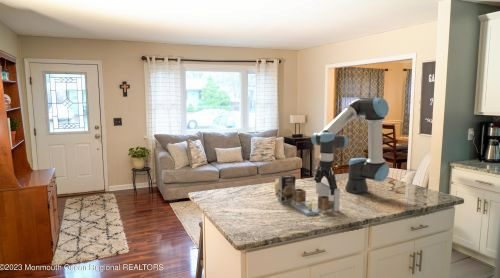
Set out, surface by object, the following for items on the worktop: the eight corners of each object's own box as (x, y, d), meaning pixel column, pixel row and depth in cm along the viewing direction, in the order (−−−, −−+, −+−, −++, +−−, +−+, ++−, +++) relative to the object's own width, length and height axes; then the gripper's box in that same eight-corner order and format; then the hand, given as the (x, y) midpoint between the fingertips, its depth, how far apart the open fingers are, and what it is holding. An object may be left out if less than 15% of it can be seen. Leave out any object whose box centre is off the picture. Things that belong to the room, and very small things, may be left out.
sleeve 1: (300, 201, 203) (301, 188, 202) (305, 204, 198) (305, 191, 197) (292, 202, 202) (293, 189, 201) (296, 205, 196) (297, 191, 195)
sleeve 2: (326, 208, 195) (326, 195, 194) (331, 212, 189) (331, 198, 188) (317, 209, 193) (318, 196, 192) (322, 213, 188) (323, 199, 186)
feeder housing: (322, 201, 208) (323, 180, 206) (338, 210, 191) (339, 188, 190) (317, 202, 207) (318, 181, 205) (334, 211, 190) (334, 189, 188)
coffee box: (281, 203, 204) (282, 177, 202) (277, 200, 210) (278, 175, 208) (295, 201, 207) (295, 176, 205) (290, 198, 213) (291, 174, 211)
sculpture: (291, 190, 231) (291, 175, 229) (291, 196, 219) (291, 180, 218) (274, 190, 232) (274, 175, 231) (274, 195, 220) (274, 179, 219)
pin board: (302, 203, 205) (302, 194, 204) (319, 214, 186) (319, 204, 185) (290, 204, 202) (290, 195, 201) (306, 215, 183) (306, 206, 183)
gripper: (309, 156, 198) (307, 191, 200) (333, 164, 174) (331, 204, 177) (320, 156, 200) (318, 190, 203) (345, 164, 177) (343, 203, 179)
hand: (324, 197), depth 190 cm, fingers open, 13 cm apart
